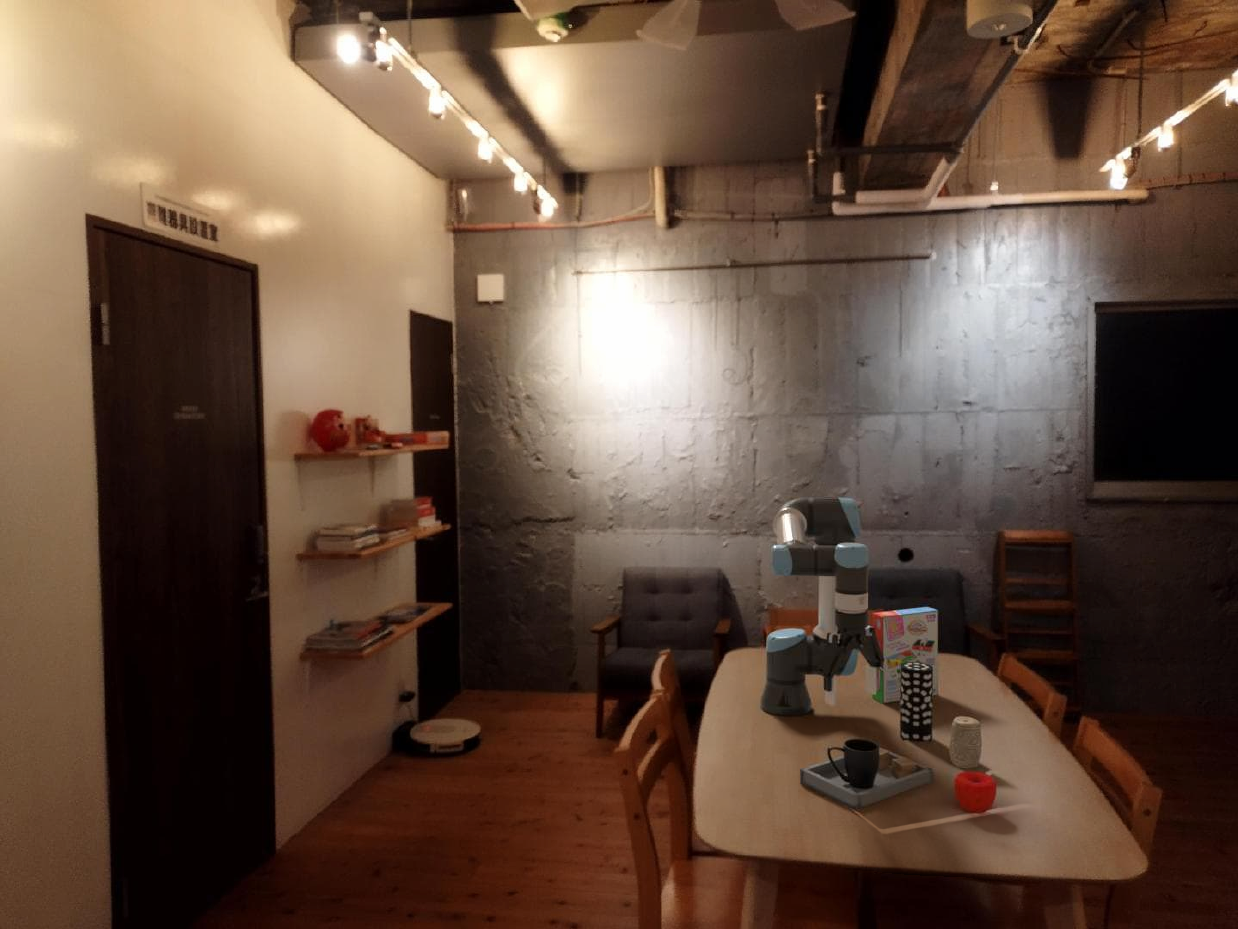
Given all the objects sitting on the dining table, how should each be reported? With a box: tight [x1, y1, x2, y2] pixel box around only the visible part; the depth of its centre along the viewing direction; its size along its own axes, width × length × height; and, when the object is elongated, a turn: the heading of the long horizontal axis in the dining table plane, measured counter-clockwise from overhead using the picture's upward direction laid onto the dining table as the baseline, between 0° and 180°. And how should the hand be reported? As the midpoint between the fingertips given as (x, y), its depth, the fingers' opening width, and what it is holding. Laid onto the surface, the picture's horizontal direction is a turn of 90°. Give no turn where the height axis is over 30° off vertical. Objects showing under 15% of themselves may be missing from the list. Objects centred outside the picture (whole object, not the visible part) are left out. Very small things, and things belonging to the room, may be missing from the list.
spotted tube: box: [899, 662, 934, 743], centre depth 234 cm, size 8×8×20 cm
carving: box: [949, 715, 983, 769], centre depth 216 cm, size 6×8×12 cm
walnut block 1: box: [878, 747, 890, 771], centre depth 215 cm, size 4×4×4 cm
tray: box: [799, 751, 934, 813], centre depth 207 cm, size 18×26×4 cm
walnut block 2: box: [892, 756, 917, 779], centre depth 208 cm, size 4×4×4 cm
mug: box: [826, 738, 880, 789], centre depth 205 cm, size 8×12×10 cm
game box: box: [872, 606, 939, 704], centre depth 267 cm, size 21×6×27 cm, turn 108°
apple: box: [953, 771, 997, 814], centre depth 192 cm, size 9×9×8 cm
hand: (851, 698), depth 203 cm, fingers open, 13 cm apart
